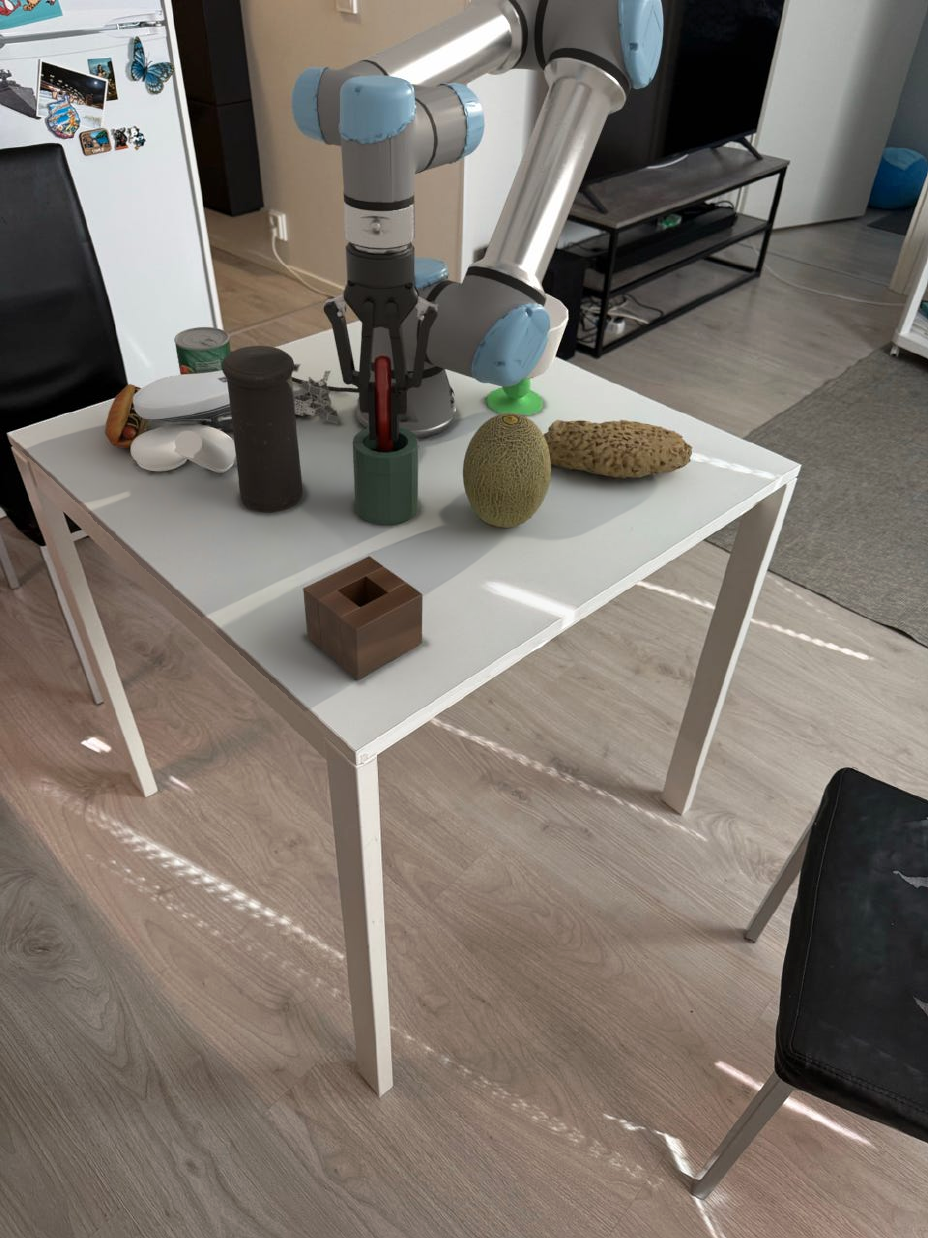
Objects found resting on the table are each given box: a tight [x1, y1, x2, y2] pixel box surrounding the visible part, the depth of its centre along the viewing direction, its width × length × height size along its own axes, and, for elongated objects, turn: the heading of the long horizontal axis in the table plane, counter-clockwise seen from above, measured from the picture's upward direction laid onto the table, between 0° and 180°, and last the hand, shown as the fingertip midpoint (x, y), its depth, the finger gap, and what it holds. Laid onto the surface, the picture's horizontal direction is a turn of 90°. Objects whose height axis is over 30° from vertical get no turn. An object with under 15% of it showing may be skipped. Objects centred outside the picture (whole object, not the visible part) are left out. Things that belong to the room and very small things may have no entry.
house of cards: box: [292, 363, 340, 425], centre depth 137 cm, size 9×9×8 cm
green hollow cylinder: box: [352, 427, 419, 526], centre depth 118 cm, size 8×8×10 cm
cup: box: [486, 293, 569, 416], centre depth 140 cm, size 14×14×16 cm
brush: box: [374, 354, 393, 453], centre depth 114 cm, size 3×3×21 cm
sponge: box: [543, 419, 693, 479], centre depth 129 cm, size 13×8×20 cm
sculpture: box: [130, 423, 236, 474], centre depth 125 cm, size 12×15×8 cm
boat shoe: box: [133, 370, 233, 432], centre depth 132 cm, size 24×9×8 cm, turn 136°
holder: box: [302, 555, 424, 681], centre depth 98 cm, size 9×9×7 cm
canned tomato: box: [173, 326, 232, 375], centre depth 137 cm, size 8×8×11 cm
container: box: [222, 345, 303, 513], centre depth 115 cm, size 9×9×20 cm
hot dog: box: [104, 383, 150, 449], centre depth 131 cm, size 5×13×5 cm
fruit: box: [462, 413, 552, 529], centre depth 115 cm, size 11×11×15 cm
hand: (384, 434), depth 114 cm, fingers closed on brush, 2 cm apart
